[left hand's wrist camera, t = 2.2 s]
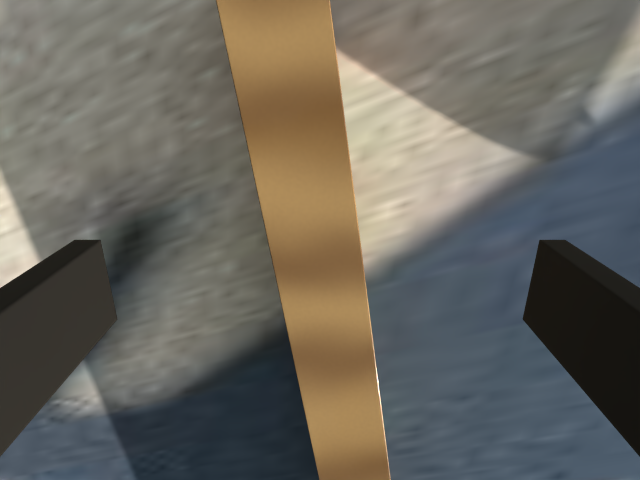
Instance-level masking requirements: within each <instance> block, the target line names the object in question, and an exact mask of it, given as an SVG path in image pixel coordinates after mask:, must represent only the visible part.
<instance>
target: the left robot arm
mask: <svg viewBox="0 0 640 480" xmlns="http://www.w3.org/2000/svg"><path fill="white" fill-rule="evenodd" d="M116 320H117V315H116V311H115V306H114V301H113V297H112V292H111V287H110V283H109V278H108V273H107V269H106V264H105V259H104V255H103V250H102V245H101V240H74V241H72V242H71V243H69V244H68V245H66V246H65V247H63V248H62V249H60V250H58V251H57V252H55V253H54V254H52V255H51V256H49V257H48V258H46V259H45V260H43V261H41V262H40V263H38V264H37V265H35V266H34V267H32V268H31V269H29V270H28V271H26V272H24V273H23V274H21V275H20V276H18V277H17V278H15V279H14V280H12V281H11V282H9V283H7V284H6V285H4V286H3V287H1V288H0V456H1V455H2V454H3V453H4V452H5V450H6V449H7V448H8V447H9V446H10V445H11V443H12V442H13V441H14V440H15V439H16V438H17V436H18V435H19V434H20V433H21V432H22V430H23V429H24V428H25V427H26V426H27V425H28V423H29V422H30V421H31V420H32V419H33V418H34V416H35V415H36V414H37V413H38V412H39V411H40V409H41V408H42V407H43V406H44V405H45V403H46V402H47V401H48V400H49V399H50V398H51V396H52V395H53V394H54V393H55V392H56V391H57V389H58V388H59V387H60V386H61V385H62V384H63V382H64V381H65V380H66V379H67V378H68V376H69V375H70V374H71V373H72V372H73V371H74V369H75V368H76V367H77V366H78V365H79V364H80V362H81V361H82V360H83V359H84V358H85V357H86V355H87V354H88V353H89V352H90V351H91V349H92V348H93V347H94V346H95V345H96V344H97V342H98V341H99V340H100V339H101V338H102V337H103V335H104V334H105V333H106V332H107V331H108V330H109V328H110V327H111V326H112V325H113V324H114V323H115V321H116ZM523 320H524V321H525V323H526V324H527V325H528V326H529V327H530V328H531V330H532V331H533V332H534V333H535V334H536V335H537V337H538V338H539V339H540V340H541V341H542V342H543V344H544V345H545V346H546V347H547V348H548V350H549V351H550V352H551V353H552V354H553V355H554V357H555V358H556V359H557V360H558V361H559V362H560V364H561V365H562V366H563V367H564V368H565V369H566V371H567V372H568V373H569V374H570V375H571V376H572V378H573V379H574V380H575V381H576V382H577V384H578V385H579V386H580V387H581V388H582V389H583V391H584V392H585V393H586V394H587V395H588V396H589V398H590V399H591V400H592V401H593V402H594V403H595V405H596V406H597V407H598V408H599V409H600V411H601V412H602V413H603V414H604V415H605V416H606V418H607V419H608V420H609V421H610V422H611V423H612V425H613V426H614V427H615V428H616V429H617V430H618V432H619V433H620V434H621V435H622V436H623V438H624V439H625V440H626V441H627V442H628V443H629V445H630V446H631V447H632V448H633V449H634V450H635V452H636V453H637V454H638V455H639V456H640V288H639V287H637V286H636V285H634V284H633V283H631V282H629V281H628V280H626V279H625V278H623V277H622V276H620V275H619V274H617V273H616V272H614V271H612V270H611V269H609V268H608V267H606V266H605V265H603V264H602V263H600V262H599V261H597V260H595V259H594V258H592V257H591V256H589V255H588V254H586V253H585V252H583V251H582V250H580V249H578V248H577V247H575V246H574V245H572V244H571V243H569V242H568V241H566V240H539V245H538V250H537V254H536V259H535V264H534V269H533V273H532V278H531V283H530V287H529V292H528V297H527V301H526V306H525V311H524V315H523Z"/></svg>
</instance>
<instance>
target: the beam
mask: <svg viewBox="0 0 640 480" xmlns="http://www.w3.org/2000/svg"><path fill="white" fill-rule="evenodd" d="M216 3H217V7H218V12H219V16H220V21H221V26H222V30H223V35H224V40H225V44H226V49H227V54H228V58H229V63H230V67H231V72H232V77H233V81H234V86H235V91H236V95H237V100H238V105H239V109H240V114H241V118H242V123H243V128H244V132H245V137H246V142H247V146H248V151H249V156H250V160H251V165H252V169H253V174H254V179H255V183H256V188H257V193H258V197H259V202H260V207H261V211H262V216H263V220H264V225H265V230H266V234H267V239H268V244H269V248H270V253H271V258H272V262H273V267H274V271H275V276H276V281H277V285H278V290H279V295H280V299H281V304H282V309H283V313H284V318H285V322H286V327H287V332H288V336H289V341H290V346H291V350H292V355H293V360H294V364H295V369H296V373H297V378H298V383H299V387H300V392H301V397H302V401H303V406H304V411H305V415H306V420H307V424H308V429H309V434H310V438H311V443H312V448H313V452H314V457H315V462H316V466H317V471H318V475H319V480H391V479H390V471H389V463H388V455H387V448H386V440H385V432H384V424H383V416H382V408H381V400H380V392H379V385H378V377H377V369H376V361H375V353H374V345H373V337H372V329H371V322H370V314H369V306H368V298H367V290H366V282H365V274H364V266H363V259H362V251H361V243H360V235H359V227H358V219H357V211H356V204H355V196H354V188H353V180H352V172H351V164H350V156H349V148H348V141H347V133H346V125H345V117H344V109H343V101H342V93H341V85H340V78H339V70H338V62H337V54H336V46H335V38H334V30H333V22H332V15H331V7H330V0H216Z"/></svg>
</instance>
